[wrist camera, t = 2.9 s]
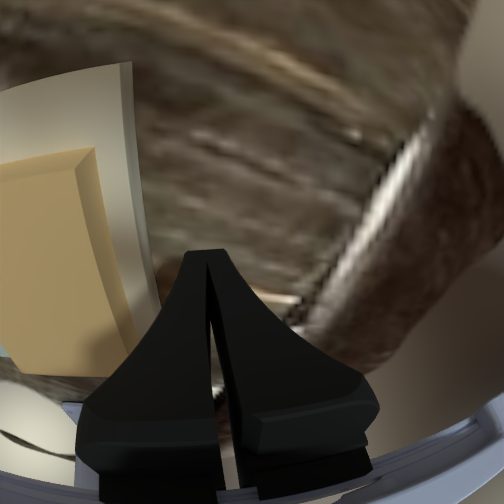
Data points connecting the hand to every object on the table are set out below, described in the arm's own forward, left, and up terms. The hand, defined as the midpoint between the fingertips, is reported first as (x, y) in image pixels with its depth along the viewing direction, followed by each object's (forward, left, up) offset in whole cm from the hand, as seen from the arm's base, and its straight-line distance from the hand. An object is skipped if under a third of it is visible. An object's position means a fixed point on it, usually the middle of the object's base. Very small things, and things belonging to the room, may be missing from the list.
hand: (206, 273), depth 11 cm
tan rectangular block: (0, +6, 0) cm, 6 cm away
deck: (0, +6, -3) cm, 7 cm away
